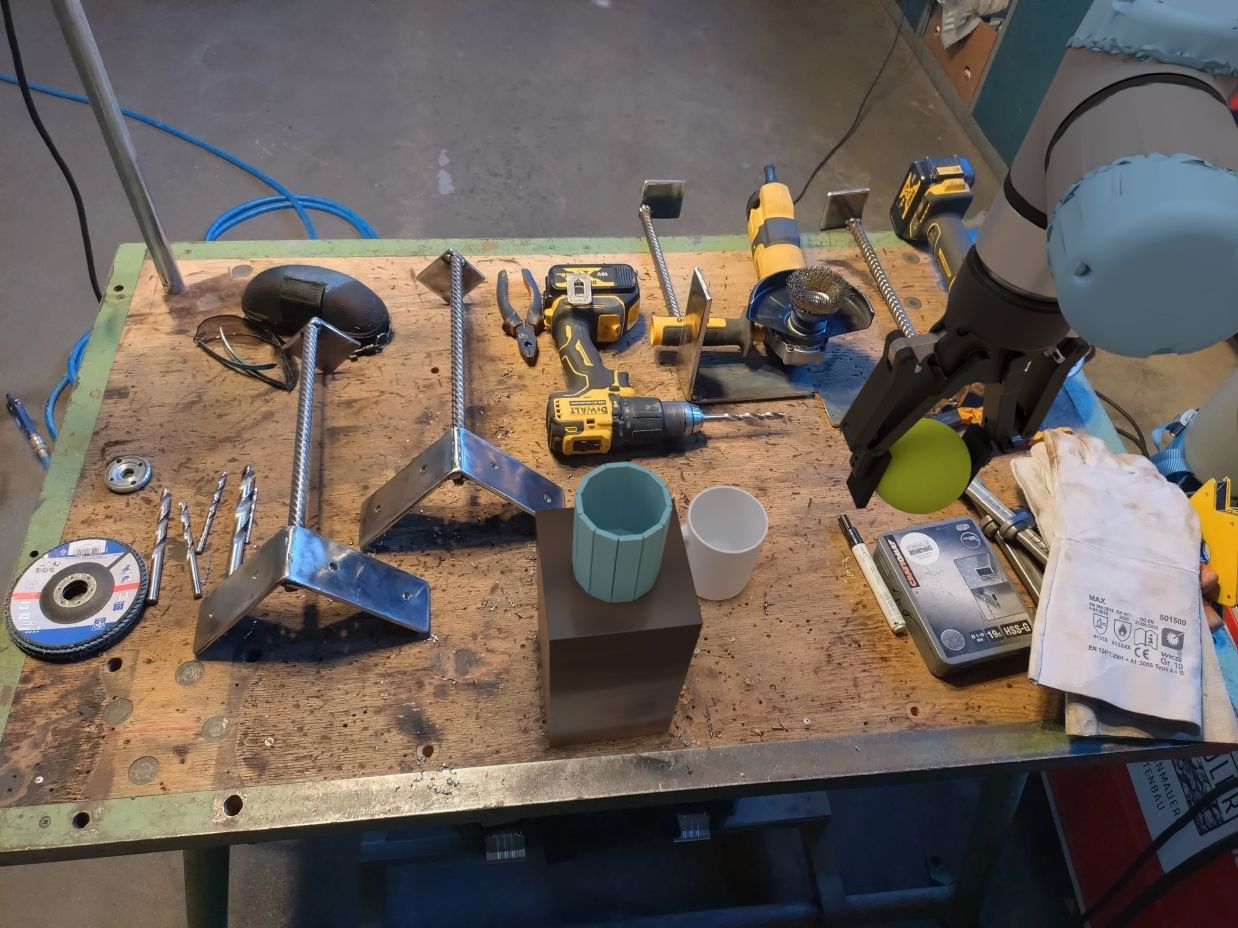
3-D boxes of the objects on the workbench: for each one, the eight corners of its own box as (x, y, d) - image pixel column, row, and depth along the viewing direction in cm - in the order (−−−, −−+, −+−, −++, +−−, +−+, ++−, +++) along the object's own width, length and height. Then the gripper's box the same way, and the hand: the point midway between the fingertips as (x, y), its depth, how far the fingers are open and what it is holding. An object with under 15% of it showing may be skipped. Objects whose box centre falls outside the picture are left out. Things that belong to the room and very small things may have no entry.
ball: (963, 529, 64) (1005, 470, 59) (874, 537, 63) (908, 477, 57) (926, 456, 69) (962, 395, 63) (843, 462, 68) (872, 400, 62)
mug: (640, 545, 95) (649, 492, 86) (738, 535, 96) (756, 481, 88) (654, 610, 89) (665, 560, 81) (757, 598, 91) (778, 548, 83)
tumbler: (665, 597, 63) (679, 535, 56) (578, 606, 62) (582, 544, 55) (650, 525, 68) (661, 458, 60) (568, 532, 67) (570, 465, 59)
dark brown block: (668, 732, 81) (703, 623, 62) (549, 748, 79) (548, 640, 60) (647, 625, 88) (674, 498, 69) (538, 637, 87) (535, 510, 68)
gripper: (1150, 222, 52) (996, 447, 70) (853, 232, 49) (771, 464, 67) (1220, 298, 47) (1036, 517, 65) (897, 314, 44) (797, 540, 62)
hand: (902, 490), depth 66 cm, fingers closed on ball, 7 cm apart
